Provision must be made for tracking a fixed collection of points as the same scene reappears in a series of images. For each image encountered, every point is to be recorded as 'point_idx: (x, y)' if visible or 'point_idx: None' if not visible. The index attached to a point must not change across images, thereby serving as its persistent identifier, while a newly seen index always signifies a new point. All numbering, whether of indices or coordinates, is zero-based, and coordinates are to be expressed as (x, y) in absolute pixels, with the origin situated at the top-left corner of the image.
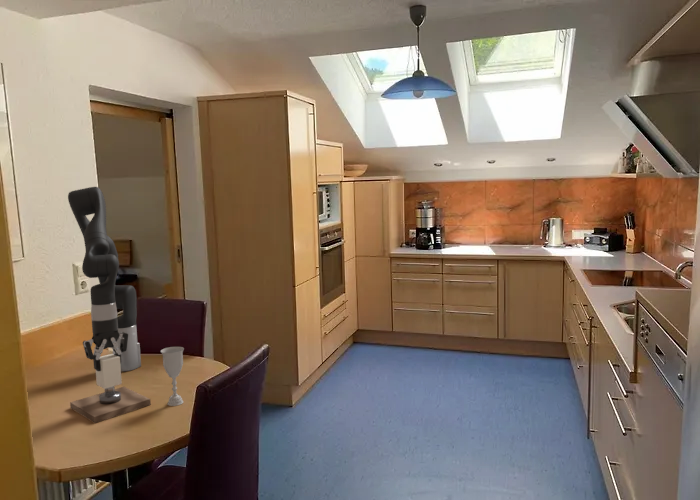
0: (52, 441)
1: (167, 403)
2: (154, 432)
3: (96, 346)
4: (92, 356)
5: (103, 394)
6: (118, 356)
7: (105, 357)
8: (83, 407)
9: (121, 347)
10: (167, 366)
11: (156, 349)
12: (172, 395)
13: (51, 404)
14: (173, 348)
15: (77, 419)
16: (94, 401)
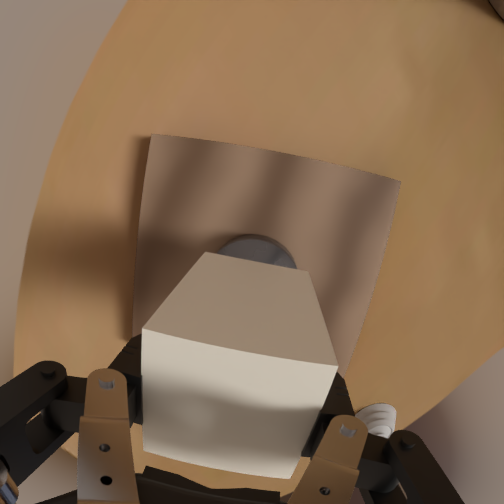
0: (36, 330)
1: (361, 410)
2: (207, 483)
3: (88, 469)
4: (62, 434)
5: (237, 257)
6: (295, 465)
7: (213, 410)
8: (148, 242)
9: (392, 470)
10: None
11: None
12: (376, 433)
13: (152, 37)
14: None
15: (120, 264)
16: (210, 222)
